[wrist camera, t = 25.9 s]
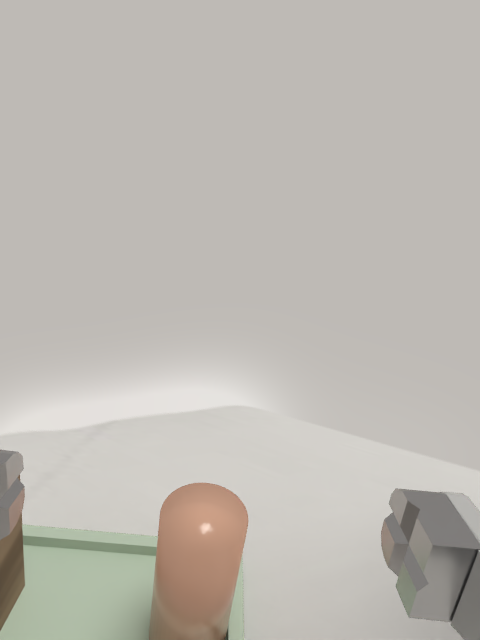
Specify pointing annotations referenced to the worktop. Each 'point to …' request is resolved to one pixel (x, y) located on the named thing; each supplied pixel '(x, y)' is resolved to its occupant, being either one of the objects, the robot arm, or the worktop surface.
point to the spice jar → (197, 563)
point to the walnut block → (11, 570)
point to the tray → (91, 587)
